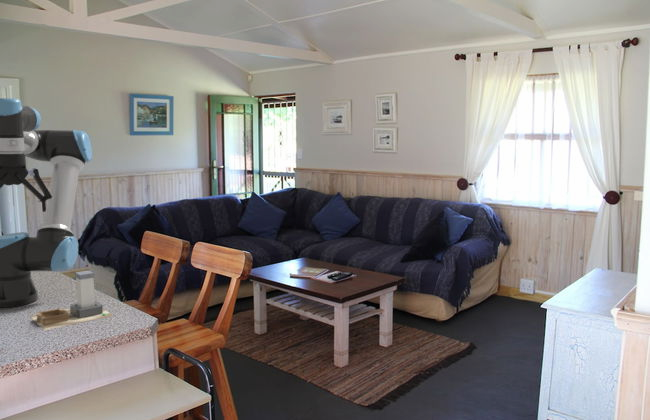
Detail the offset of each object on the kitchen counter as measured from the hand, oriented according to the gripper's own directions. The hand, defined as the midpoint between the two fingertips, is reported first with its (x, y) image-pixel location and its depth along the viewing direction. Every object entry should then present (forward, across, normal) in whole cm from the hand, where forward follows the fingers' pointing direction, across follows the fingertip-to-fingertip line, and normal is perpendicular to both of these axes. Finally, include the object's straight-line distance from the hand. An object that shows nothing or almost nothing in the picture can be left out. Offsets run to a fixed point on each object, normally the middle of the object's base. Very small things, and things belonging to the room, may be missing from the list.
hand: (15, 225), depth 166 cm
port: (+29, +17, -6) cm, 34 cm away
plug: (+29, +17, -5) cm, 34 cm away
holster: (+29, +7, -5) cm, 30 cm away
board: (+30, +12, -5) cm, 33 cm away
